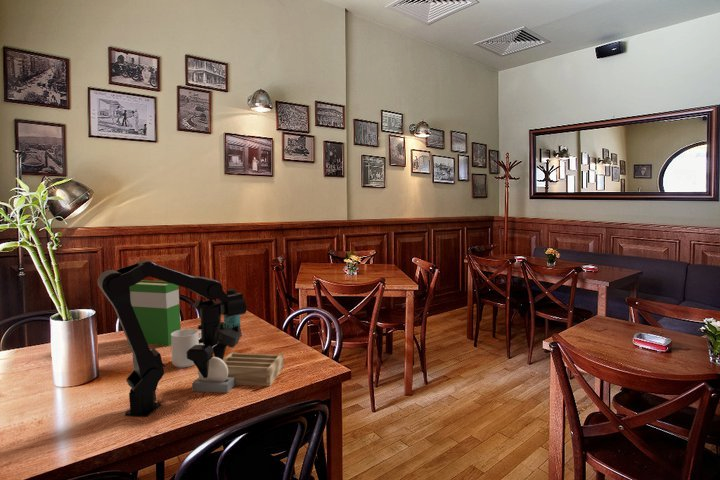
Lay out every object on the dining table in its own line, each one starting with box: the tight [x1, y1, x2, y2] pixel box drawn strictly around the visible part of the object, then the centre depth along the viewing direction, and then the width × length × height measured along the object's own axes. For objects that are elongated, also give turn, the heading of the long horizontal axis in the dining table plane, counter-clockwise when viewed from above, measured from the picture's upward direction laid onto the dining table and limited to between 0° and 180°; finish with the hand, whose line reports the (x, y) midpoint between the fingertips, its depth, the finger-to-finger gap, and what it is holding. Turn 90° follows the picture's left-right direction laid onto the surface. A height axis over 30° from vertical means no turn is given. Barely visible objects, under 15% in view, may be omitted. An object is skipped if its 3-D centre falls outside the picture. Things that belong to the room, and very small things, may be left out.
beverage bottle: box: [223, 288, 241, 329], centre depth 169 cm, size 6×7×20 cm
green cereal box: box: [129, 279, 182, 347], centre depth 165 cm, size 18×7×24 cm, turn 77°
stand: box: [191, 377, 236, 394], centre depth 124 cm, size 5×11×2 cm, turn 84°
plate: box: [197, 356, 228, 382], centre depth 123 cm, size 1×9×9 cm, turn 84°
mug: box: [170, 328, 204, 369], centre depth 144 cm, size 12×9×11 cm
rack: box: [223, 350, 285, 387], centre depth 133 cm, size 14×18×5 cm
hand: (212, 371), depth 123 cm, fingers open, 9 cm apart
